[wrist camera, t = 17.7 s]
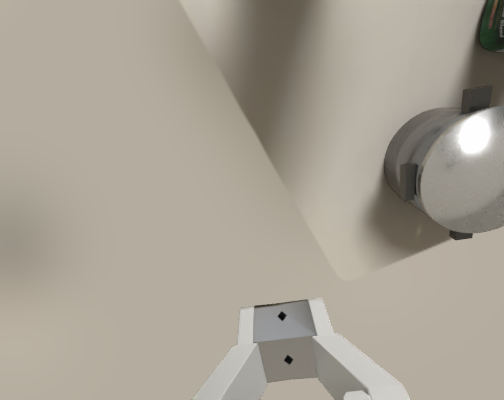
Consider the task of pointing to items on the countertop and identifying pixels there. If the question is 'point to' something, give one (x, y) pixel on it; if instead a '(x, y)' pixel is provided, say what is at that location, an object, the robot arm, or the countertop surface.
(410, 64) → the countertop surface
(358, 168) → the countertop surface
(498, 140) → the lid
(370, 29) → the countertop surface
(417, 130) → the pot
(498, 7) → the coffee jar
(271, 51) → the countertop surface
